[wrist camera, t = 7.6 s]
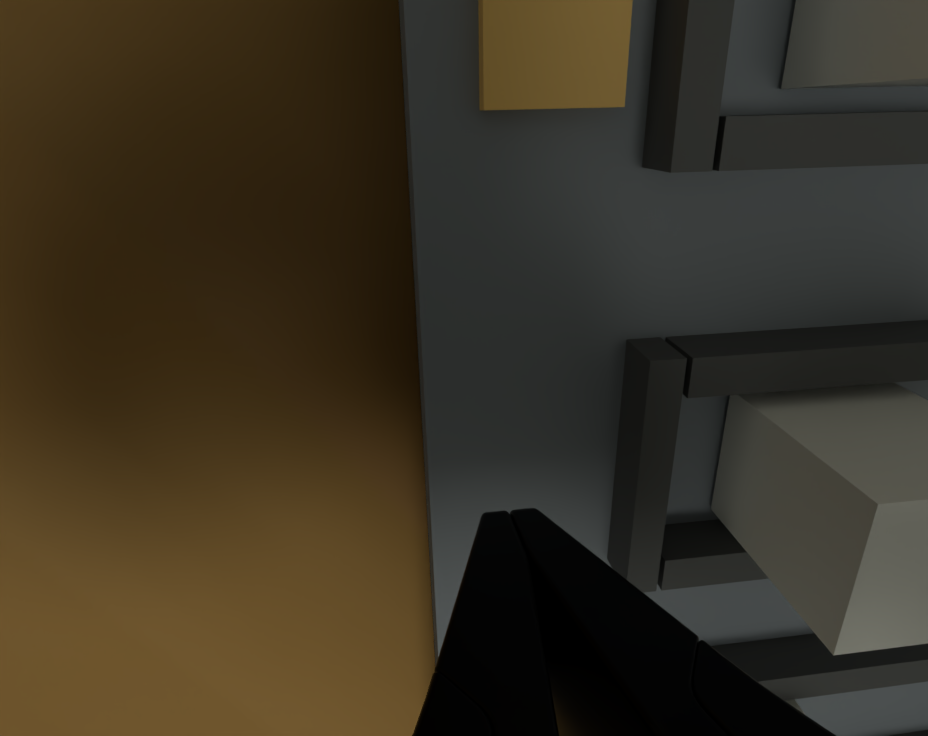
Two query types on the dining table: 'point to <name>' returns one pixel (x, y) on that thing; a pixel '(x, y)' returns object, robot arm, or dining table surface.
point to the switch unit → (653, 294)
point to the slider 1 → (857, 44)
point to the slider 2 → (834, 507)
